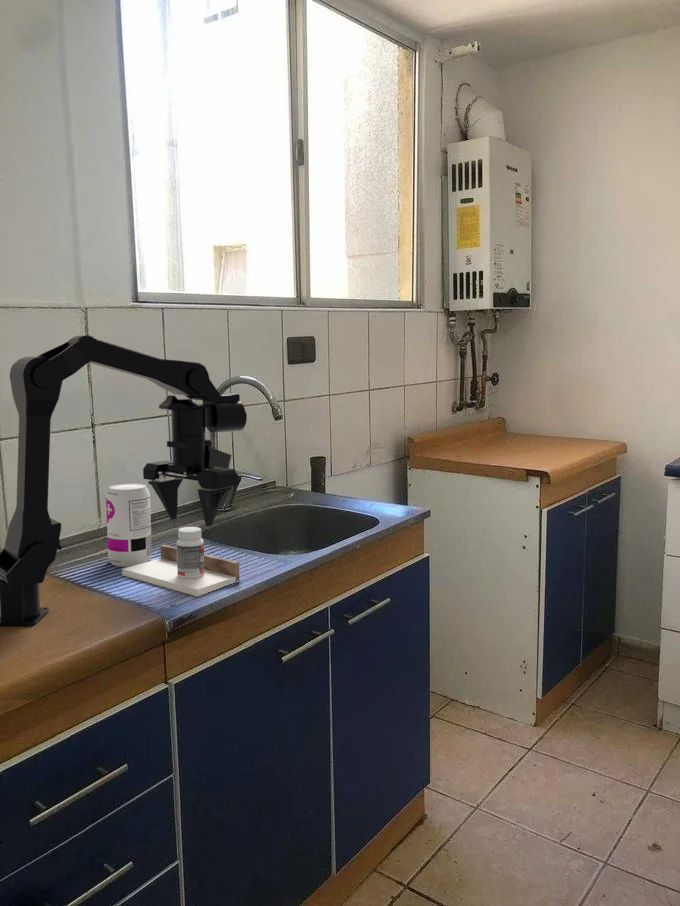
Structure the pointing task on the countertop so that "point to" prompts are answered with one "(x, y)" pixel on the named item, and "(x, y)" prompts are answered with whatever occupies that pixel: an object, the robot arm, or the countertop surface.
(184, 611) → the countertop surface
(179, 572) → the pill bottle
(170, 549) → the shelf board
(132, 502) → the supplement can
